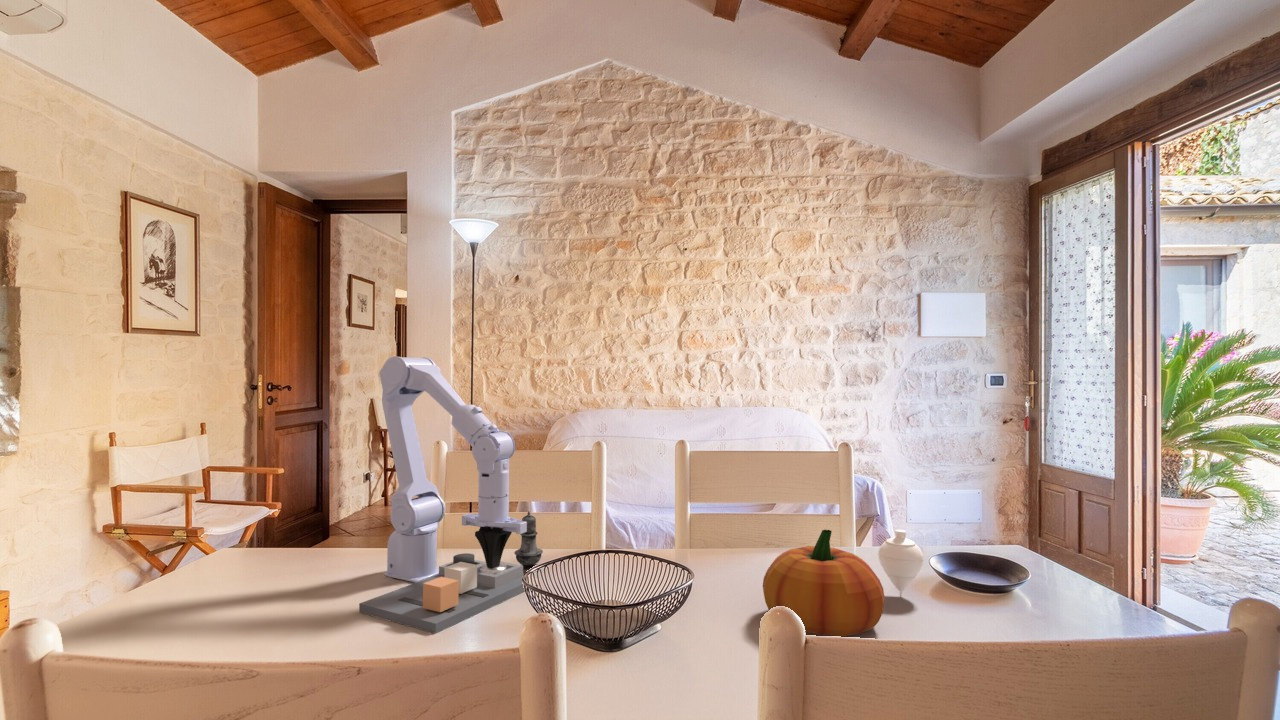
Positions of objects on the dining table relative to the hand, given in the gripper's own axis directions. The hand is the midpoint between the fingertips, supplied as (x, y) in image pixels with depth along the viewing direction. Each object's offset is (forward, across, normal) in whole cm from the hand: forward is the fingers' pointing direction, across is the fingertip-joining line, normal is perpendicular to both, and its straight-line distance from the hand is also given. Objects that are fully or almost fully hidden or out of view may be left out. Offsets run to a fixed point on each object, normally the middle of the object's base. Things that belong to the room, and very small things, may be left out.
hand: (493, 566), depth 121 cm
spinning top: (+4, +69, +32) cm, 76 cm away
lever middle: (+2, 0, -8) cm, 8 cm away
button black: (0, -8, 0) cm, 8 cm away
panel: (+4, -2, -8) cm, 9 cm away
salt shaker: (+4, -1, +12) cm, 13 cm away
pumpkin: (+4, +59, +13) cm, 61 cm away
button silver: (+1, 0, 0) cm, 1 cm away
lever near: (+2, +3, -16) cm, 16 cm away
